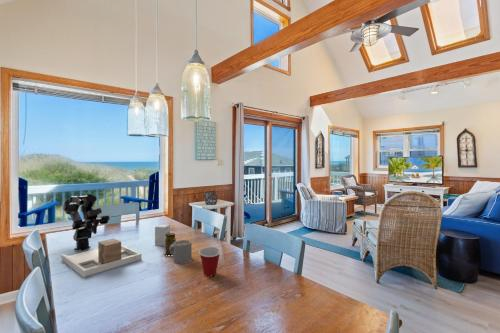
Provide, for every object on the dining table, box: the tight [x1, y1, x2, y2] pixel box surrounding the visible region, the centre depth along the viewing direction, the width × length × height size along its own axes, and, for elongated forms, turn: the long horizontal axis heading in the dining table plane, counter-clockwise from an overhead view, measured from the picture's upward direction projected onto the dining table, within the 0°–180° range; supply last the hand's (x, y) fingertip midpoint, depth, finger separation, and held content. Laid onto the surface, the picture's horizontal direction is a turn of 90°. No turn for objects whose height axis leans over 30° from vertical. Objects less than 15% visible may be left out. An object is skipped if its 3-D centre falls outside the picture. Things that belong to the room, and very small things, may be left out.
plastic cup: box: [198, 246, 222, 277], centre depth 125 cm, size 11×11×12 cm
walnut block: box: [97, 238, 122, 264], centre depth 136 cm, size 9×8×11 cm
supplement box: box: [154, 224, 171, 247], centre depth 170 cm, size 7×7×13 cm
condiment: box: [163, 232, 177, 258], centre depth 152 cm, size 7×8×12 cm
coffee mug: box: [170, 239, 193, 264], centre depth 144 cm, size 13×10×10 cm
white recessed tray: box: [61, 244, 142, 278], centre depth 143 cm, size 34×29×3 cm
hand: (95, 233), depth 148 cm, fingers closed
